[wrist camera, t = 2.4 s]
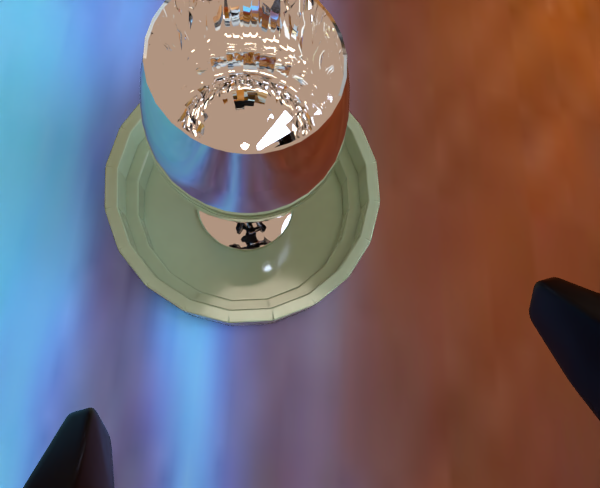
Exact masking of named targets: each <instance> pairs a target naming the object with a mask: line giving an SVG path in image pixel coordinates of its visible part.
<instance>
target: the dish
mask: <svg viewBox="0 0 600 488" xmlns="http://www.w3.org/2000/svg"><path fill="white" fill-rule="evenodd" d="M379 205H380V195H379V184H378V173H377V163H376V160H375V158H374V155H373V153H372V151H371V148H370V146H369V144H368V141H367V139H366V137H365V134H364V132H363V130H362V127H361V126H360V124H359V123H358V122H357V120H356V119H355V118H354V117H353V116H352V115H351V113H350V112H349V118H348V124H347V129H346V134H345V139H344V144H343V148H342V151H341V153H340V156H339V159H338V161H337V163H336V165H335V167H334V169H333V171H332V173H331V175H330V176H329V178H328V179H327V181H326V182H325V183H324V185H323V186H322V187H321V188H320V189H319V191H317V192H316V193H315V194H314V195H313V196H312V197H311V198H310V199H309V200H308V201H307V202H306V203H304V204H303V205H302V206H300V207H299V208H297V209H295V210H294V211H293V217H292V220H291V222H290V225H289V227H288V228H287V230H286V231H285V233H284V234H283V235H282V236H281V237H280V238H279V239H278V240H277V241H276V242H275V243H273V244H271V245H269V246H268V247H266V248H263V249H259V250H256V251H246V252H242V251H236V250H231V249H228V248H226V247H224V246H222V245H219V244H218V243H217V242H215V241H214V240H213V239H212V238H210V236H209V235H208V234H207V233H206V232H205V230H204V229H203V227H202V225H201V223H200V221H199V218H198V214H197V209H196V208H195V207H194V206H192V205H191V204H190V203H188V202H187V201H186V200H184V199H183V198H182V197H181V196H180V195H178V194H177V193H176V192H175V191H174V190H173V188H172V187H171V186H170V185H169V184H168V183H167V182H166V180H165V179H164V178H163V176H162V175H161V173H160V172H159V170H158V168H157V167H156V165H155V162H154V160H153V157H152V155H151V153H150V150H149V148H148V146H147V141H146V137H145V133H144V128H143V124H142V118H141V109H140V103H139V104H138V106H137V107H136V108H135V109H134V111H133V112H132V113H131V114H130V115H129V117H128V118H127V119H126V120H125V122H124V123H123V124H122V125H121V128H119V131H118V134H117V136H116V139H115V142H114V145H113V147H112V150H111V153H110V155H109V158H108V161H107V163H106V167H105V212H106V215H107V218H108V221H109V224H110V227H111V230H112V233H113V236H114V239H115V242H116V245H117V248H118V250H119V252H120V254H121V255H122V256H123V257H124V259H125V260H126V261H127V263H128V264H129V265H130V266H131V268H132V269H133V270H134V272H135V273H136V274H137V275H138V277H139V278H140V279H141V281H142V282H143V283H144V285H146V286H147V287H148V288H149V289H151V290H152V291H154V292H155V293H157V294H158V295H160V296H162V297H163V298H165V299H166V300H168V301H169V302H171V303H172V304H174V305H175V306H177V307H178V308H180V309H181V310H183V311H184V312H186V313H188V314H190V315H192V316H195V317H198V318H202V319H206V320H209V321H213V322H217V323H221V324H224V325H228V326H229V325H230V326H242V325H260V324H270V323H274V322H277V321H279V320H282V319H284V318H287V317H289V316H292V315H295V314H297V313H300V312H302V311H305V310H307V309H309V308H310V307H312V306H314V305H315V304H317V303H318V302H319V301H321V300H322V299H323V298H324V297H325V296H327V295H328V294H329V293H330V292H331V291H333V290H334V289H335V288H336V287H337V286H339V285H340V284H341V283H342V282H344V281H345V280H346V279H347V278H348V277H349V276H350V274H351V273H352V271H353V270H354V268H355V266H356V265H357V263H358V262H359V260H360V258H361V257H362V255H363V254H364V252H365V250H366V249H367V247H368V245H369V244H370V241H371V239H372V235H373V230H374V226H375V222H376V218H377V213H378V209H379Z"/></svg>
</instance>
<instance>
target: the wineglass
mask: <svg viewBox="0 0 600 488" xmlns="http://www.w3.org/2000/svg"><path fill="white" fill-rule="evenodd" d="M349 97H350V83H349V73H348V62H347V53H346V50H345V46H344V42H343V38H342V34H341V32H340V31H339V29H338V27H337V25H336V23H335V21H334V19H333V17H332V16H331V14H330V13H329V12H328V11H327V10H326V9H325V7H324V6H323V5H322V4H321V3H320V2H319V0H165V1H164V3H163V4H162V6H161V7H160V8H159V10H158V11H157V13H156V14H155V15H154V17H153V19H152V21H151V24H150V26H149V29H148V32H147V34H146V37H145V43H144V50H143V56H142V62H141V69H140V109H141V118H142V124H143V128H144V133H145V137H146V141H147V146H148V148H149V150H150V153H151V155H152V157H153V160H154V162H155V165H156V167H157V168H158V170H159V172H160V173H161V175H162V176H163V178H164V179H165V180H166V182H167V183H168V184H169V185H170V186H171V187H172V188H173V190H174V191H175V192H176V193H177V194H178V195H180V196H181V197H182V198H183V199H184V200H186V201H187V202H188V203H190V204H191V205H192V206H194V207H195V208H196V209H197V214H198V218H199V221H200V223H201V225H202V227H203V229H204V230H205V232H206V233H207V234H208V235H209V236H210V238H212V239H213V240H214V241H215V242H217V243H218V244H219V245H222V246H224V247H226V248H228V249H231V250H236V251H242V252H246V251H256V250H259V249H263V248H266V247H268V246H269V245H271V244H273V243H275V242H276V241H277V240H278V239H279V238H280V237H281V236H282V235H283V234H284V233H285V231H286V230H287V228H288V227H289V225H290V222H291V220H292V217H293V211H294V210H295V209H297V208H299V207H300V206H302V205H303V204H304V203H306V202H307V201H308V200H309V199H310V198H311V197H312V196H313V195H314V194H315V193H316V192H317V191H319V189H320V188H321V187H322V186H323V185H324V183H325V182H326V181H327V179H328V178H329V176H330V175H331V173H332V171H333V169H334V167H335V165H336V163H337V161H338V159H339V156H340V153H341V151H342V148H343V144H344V139H345V134H346V129H347V124H348V118H349Z"/></svg>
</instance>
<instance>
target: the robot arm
mask: <svg viewBox="0 0 600 488" xmlns="http://www.w3.org/2000/svg"><path fill="white" fill-rule="evenodd" d="M529 315H530V318H531V321H532V323H533V324H534V326H535V327H536V329H537V331H538V332H539V334H540V335H541V337H542V339H543V340H544V342H545V343H546V345H547V347H548V348H549V350H550V351H551V353H552V355H553V356H554V358H555V359H556V361H557V363H558V364H559V366H560V367H561V369H562V371H563V372H564V374H565V375H566V377H567V378H568V380H569V381H570V383H571V384H572V385H573V387H574V388H575V389H576V391H577V392H578V393H579V395H580V396H581V397H582V399H583V400H584V401H585V402H586V404H587V405H588V406H589V408H590V409H591V410H592V411H593V413H594V414H595V415H596V417H597V418H598V419H599V420H600V294H599V293H596V292H594V291H591V290H589V289H586V288H583V287H581V286H578V285H576V284H573V283H570V282H568V281H565V280H563V279H560V278H556V277H553V278H549V279H545V280H541V281H538V282H537V283H536V284H535V286H534V289H533V294H532V299H531V303H530V308H529ZM23 488H114V474H113V460H112V447H111V440H110V436H109V434H108V432H107V430H106V428H105V426H104V424H103V422H102V421H101V419H100V417H99V415H98V413H97V412H96V410H95V409H94V408H86V409H83V410H79V411H76V412H72V413H71V414H69V415H68V416H67V418H66V419H65V421H64V422H63V424H62V426H61V427H60V429H59V430H58V432H57V434H56V435H55V437H54V439H53V440H52V442H51V443H50V445H49V447H48V448H47V450H46V451H45V453H44V455H43V456H42V458H41V460H40V461H39V463H38V464H37V466H36V468H35V469H34V471H33V472H32V474H31V476H30V477H29V479H28V481H27V482H26V484H25V485H24V487H23Z"/></svg>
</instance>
